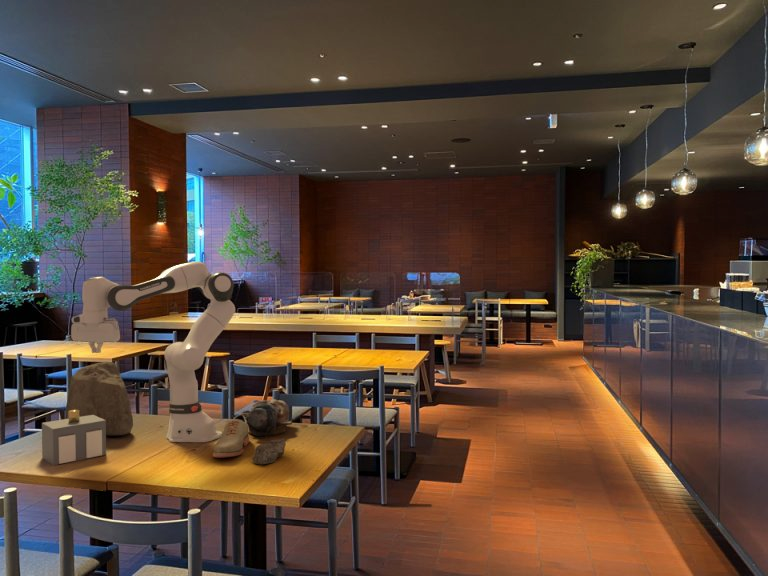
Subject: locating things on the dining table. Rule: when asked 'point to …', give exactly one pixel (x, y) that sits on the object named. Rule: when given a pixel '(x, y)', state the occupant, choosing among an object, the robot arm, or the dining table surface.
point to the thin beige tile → (66, 448)
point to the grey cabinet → (65, 428)
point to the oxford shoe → (232, 438)
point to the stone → (101, 397)
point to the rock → (269, 451)
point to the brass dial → (73, 416)
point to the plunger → (93, 443)
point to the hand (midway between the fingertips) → (96, 352)
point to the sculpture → (267, 418)
